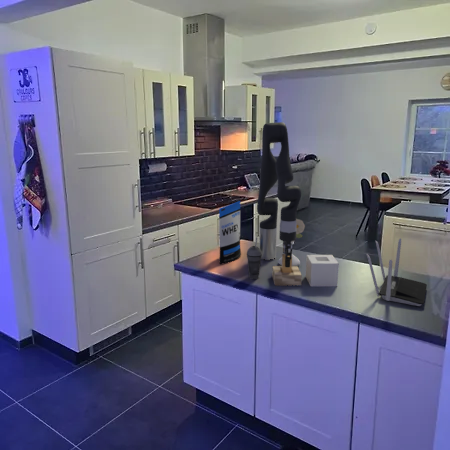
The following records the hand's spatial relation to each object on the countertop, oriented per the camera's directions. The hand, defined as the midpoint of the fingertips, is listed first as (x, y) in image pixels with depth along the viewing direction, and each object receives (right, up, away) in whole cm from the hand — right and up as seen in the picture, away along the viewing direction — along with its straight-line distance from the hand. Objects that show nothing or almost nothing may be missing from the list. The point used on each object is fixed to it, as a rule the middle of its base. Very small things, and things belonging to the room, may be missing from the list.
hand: (286, 265), depth 183 cm
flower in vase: (+5, -3, +22) cm, 23 cm away
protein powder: (-26, 0, +34) cm, 43 cm away
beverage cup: (-15, -7, +6) cm, 17 cm away
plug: (0, -3, +1) cm, 3 cm away
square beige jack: (0, -7, +2) cm, 8 cm away
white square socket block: (+16, -8, +1) cm, 18 cm away
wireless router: (+45, -11, -12) cm, 48 cm away
